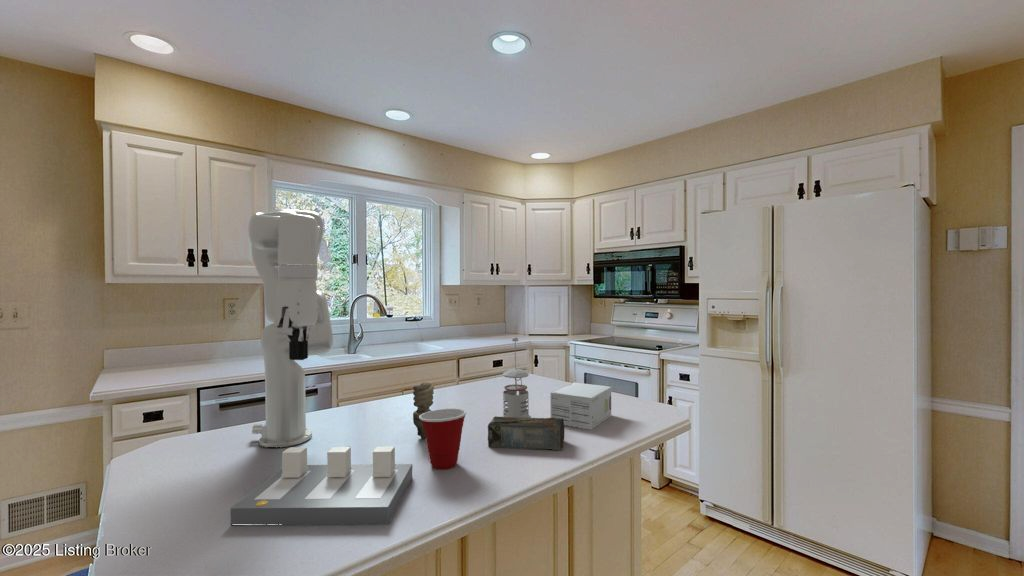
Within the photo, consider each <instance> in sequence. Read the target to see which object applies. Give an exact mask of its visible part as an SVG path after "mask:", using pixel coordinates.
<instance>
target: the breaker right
mask: <svg viewBox="0 0 1024 576" xmlns="http://www.w3.org/2000/svg"><path fill="white" fill-rule="evenodd" d="M395 449H396V448H395V445H394V446H391V445H390V446H376V447H375V448H374V449H373V451H372V464H373V474H372V477H391V475H392V474H393V472H394V471H395V464H396V462H395V461H396V458H395V457H396V452H395V451H396V450H395Z"/></svg>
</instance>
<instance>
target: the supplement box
mask: <svg viewBox="0 0 1024 576" xmlns="http://www.w3.org/2000/svg"><path fill="white" fill-rule="evenodd" d="M611 416H612V386H607V385H599V384H590V383H583V382H572V383H570V384H568V385H566V386H563V387H561V388H559V389H557V390H554V391H552V392H550V418H558V419H562V418H563V421H564V426H566V425H568V426H567V427H571V426H573V427H572V428H576V427H578V429H581V428H583V430H587V429H588V431H592V430H593V429H594V428H596V427H598V426H599V425H600V424H602V423H603V422H605V420H607V419H608V418H610V417H611ZM601 422H602V423H601Z"/></svg>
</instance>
